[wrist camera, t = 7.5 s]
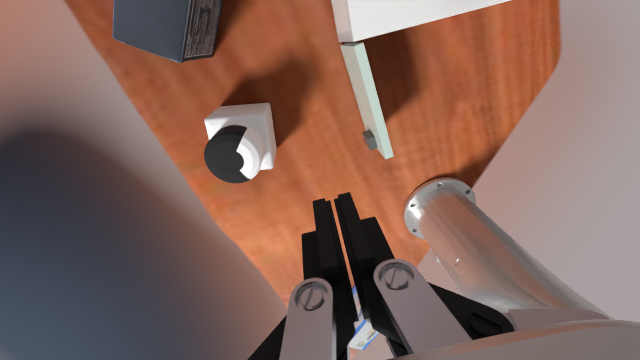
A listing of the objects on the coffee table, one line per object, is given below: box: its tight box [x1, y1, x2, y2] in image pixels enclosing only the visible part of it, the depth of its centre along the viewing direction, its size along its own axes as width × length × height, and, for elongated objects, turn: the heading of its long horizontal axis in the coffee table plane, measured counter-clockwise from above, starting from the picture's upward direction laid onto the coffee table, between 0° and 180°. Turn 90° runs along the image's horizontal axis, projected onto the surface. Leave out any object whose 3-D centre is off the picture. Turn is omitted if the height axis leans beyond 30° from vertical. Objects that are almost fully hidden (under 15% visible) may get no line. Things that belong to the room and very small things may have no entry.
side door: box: [340, 43, 393, 159], centre depth 34 cm, size 2×13×9 cm, turn 21°
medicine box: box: [349, 286, 379, 350], centre depth 53 cm, size 8×4×9 cm, turn 153°
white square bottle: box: [204, 103, 277, 183], centre depth 34 cm, size 7×7×12 cm
